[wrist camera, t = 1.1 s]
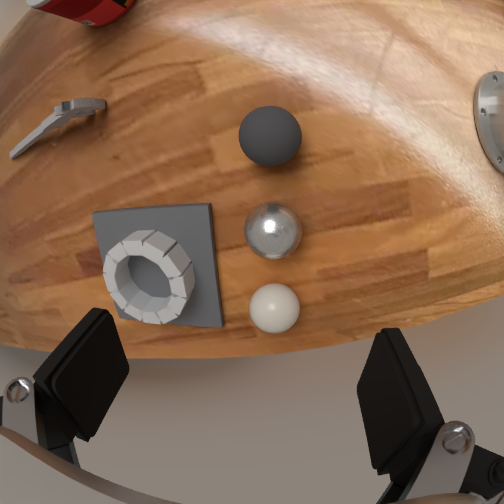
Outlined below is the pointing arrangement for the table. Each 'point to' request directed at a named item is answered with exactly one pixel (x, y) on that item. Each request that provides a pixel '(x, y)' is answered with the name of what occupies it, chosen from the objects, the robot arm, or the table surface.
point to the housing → (161, 263)
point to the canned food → (85, 10)
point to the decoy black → (270, 136)
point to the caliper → (59, 120)
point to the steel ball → (273, 230)
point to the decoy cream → (274, 308)
